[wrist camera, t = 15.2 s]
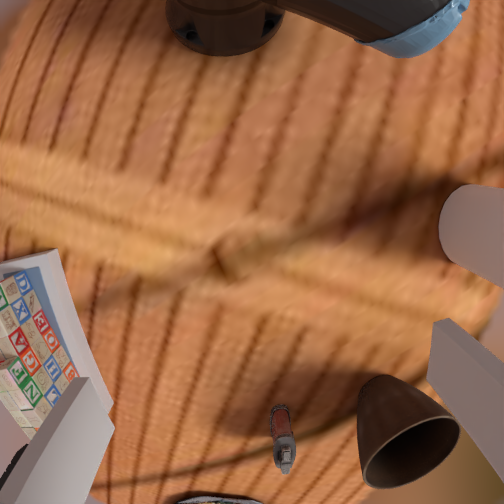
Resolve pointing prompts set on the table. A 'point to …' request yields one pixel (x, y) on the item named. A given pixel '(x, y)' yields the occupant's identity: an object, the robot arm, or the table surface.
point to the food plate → (215, 501)
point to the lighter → (282, 438)
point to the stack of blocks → (29, 356)
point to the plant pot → (401, 433)
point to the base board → (59, 312)
